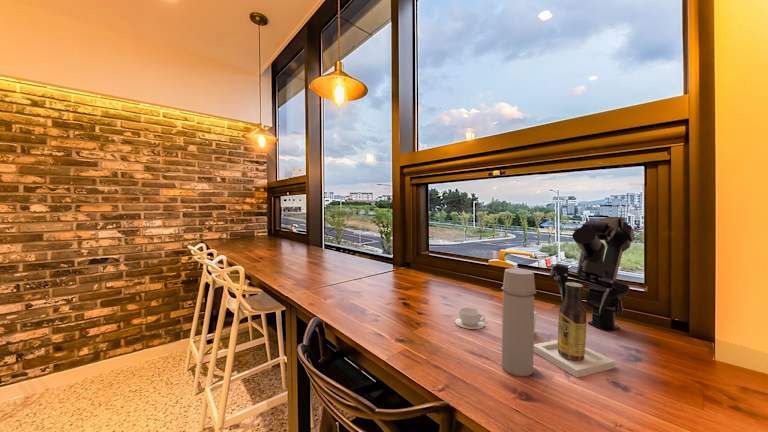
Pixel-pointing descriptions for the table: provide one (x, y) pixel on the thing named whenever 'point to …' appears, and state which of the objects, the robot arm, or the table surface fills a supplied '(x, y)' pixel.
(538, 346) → the holder tray
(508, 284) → the water bottle
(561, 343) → the sauce bottle
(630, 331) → the table surface
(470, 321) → the teacup
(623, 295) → the robot arm
